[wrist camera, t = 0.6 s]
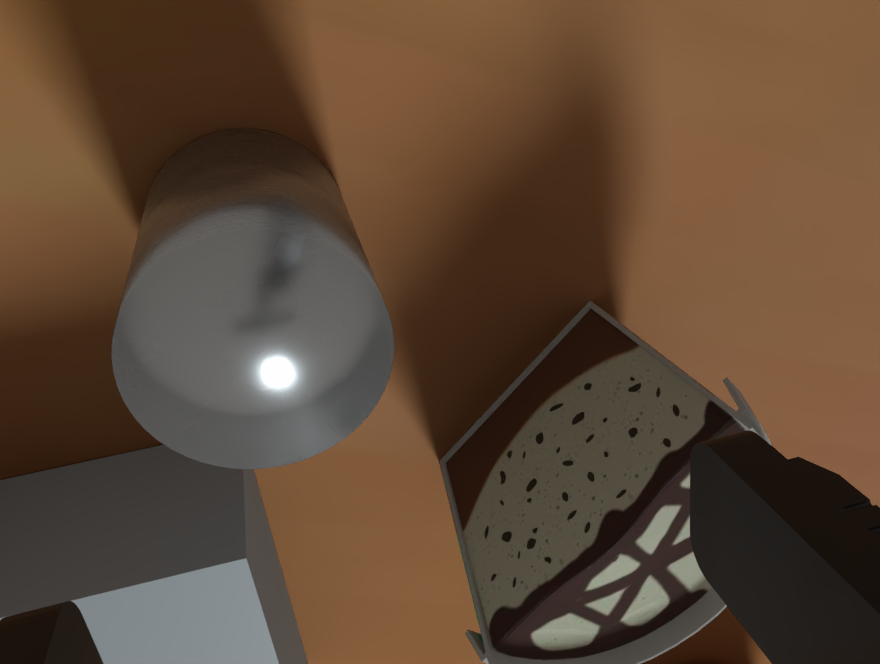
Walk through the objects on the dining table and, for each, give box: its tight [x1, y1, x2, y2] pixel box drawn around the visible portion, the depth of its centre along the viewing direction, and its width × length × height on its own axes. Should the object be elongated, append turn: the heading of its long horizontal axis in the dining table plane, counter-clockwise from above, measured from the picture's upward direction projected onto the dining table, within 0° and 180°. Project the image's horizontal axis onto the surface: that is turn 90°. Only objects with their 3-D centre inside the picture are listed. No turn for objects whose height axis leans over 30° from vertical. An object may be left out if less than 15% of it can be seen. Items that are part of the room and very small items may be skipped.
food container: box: [439, 300, 771, 664], centre depth 29 cm, size 12×6×10 cm, turn 138°
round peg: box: [111, 128, 394, 469], centre depth 23 cm, size 7×7×9 cm
